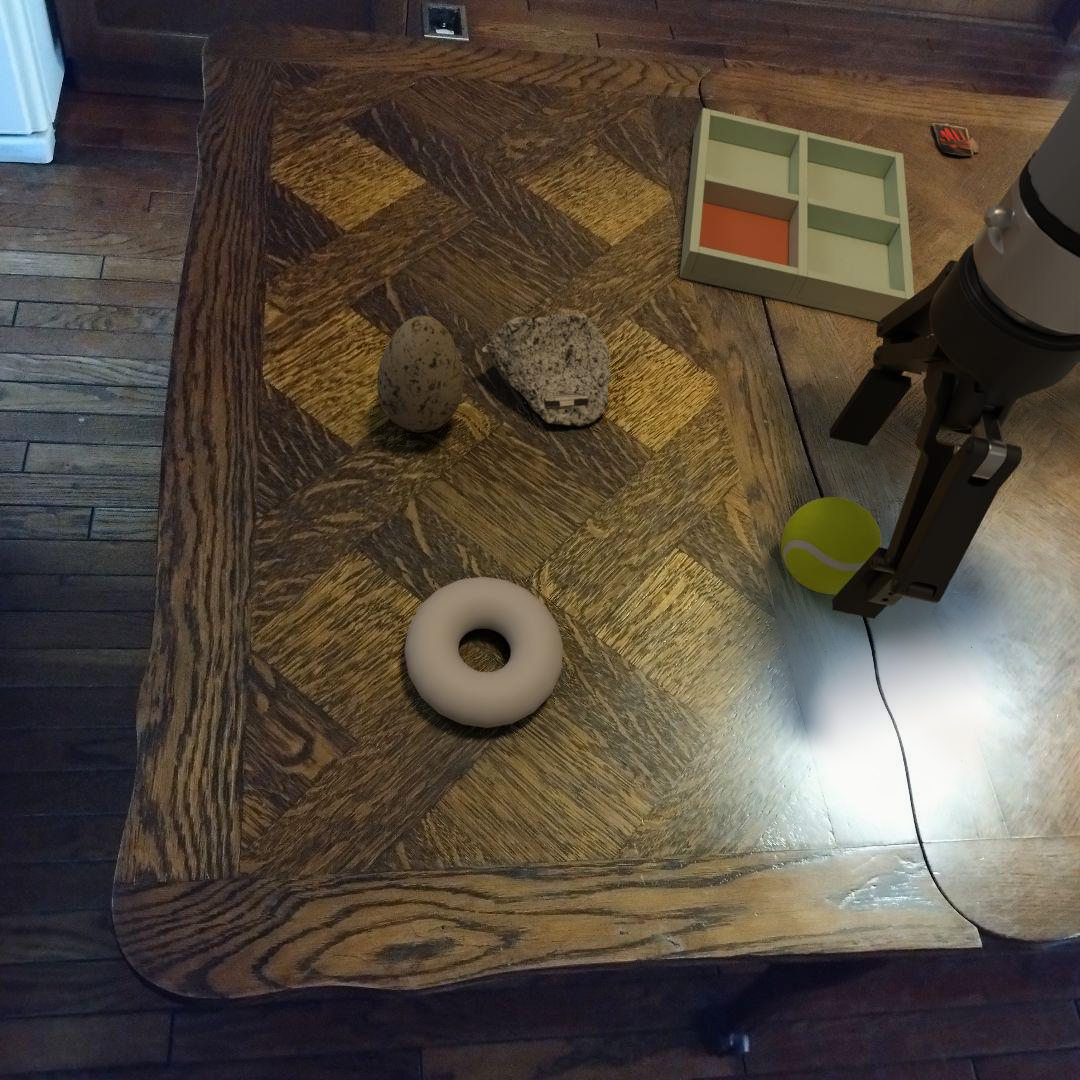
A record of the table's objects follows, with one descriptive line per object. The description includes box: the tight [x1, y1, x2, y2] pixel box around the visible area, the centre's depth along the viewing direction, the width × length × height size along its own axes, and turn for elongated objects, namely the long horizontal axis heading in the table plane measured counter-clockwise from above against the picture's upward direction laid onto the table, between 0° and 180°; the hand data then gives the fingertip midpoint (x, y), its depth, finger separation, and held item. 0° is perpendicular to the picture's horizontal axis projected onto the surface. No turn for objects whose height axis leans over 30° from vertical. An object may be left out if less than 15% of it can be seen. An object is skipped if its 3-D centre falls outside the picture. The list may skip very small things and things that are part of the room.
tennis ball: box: [780, 496, 884, 595], centre depth 68 cm, size 7×7×7 cm
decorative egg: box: [376, 315, 464, 433], centre depth 68 cm, size 6×6×10 cm
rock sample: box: [481, 308, 613, 427], centre depth 74 cm, size 10×8×9 cm
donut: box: [404, 576, 564, 729], centre depth 62 cm, size 10×4×10 cm
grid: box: [679, 107, 915, 323], centre depth 88 cm, size 19×19×3 cm
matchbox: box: [929, 122, 981, 157], centre depth 100 cm, size 5×5×1 cm
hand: (849, 519), depth 65 cm, fingers open, 13 cm apart
